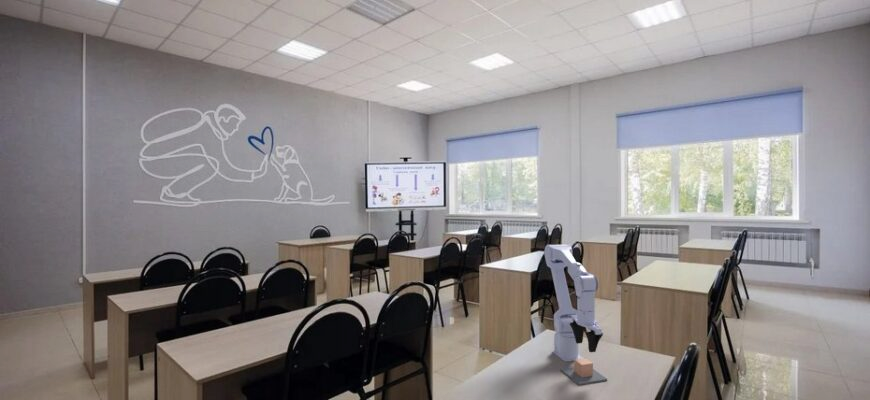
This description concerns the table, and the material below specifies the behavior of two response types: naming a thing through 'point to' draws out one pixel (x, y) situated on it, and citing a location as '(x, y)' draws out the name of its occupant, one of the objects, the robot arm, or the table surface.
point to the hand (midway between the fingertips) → (585, 347)
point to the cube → (583, 367)
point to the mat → (583, 380)
